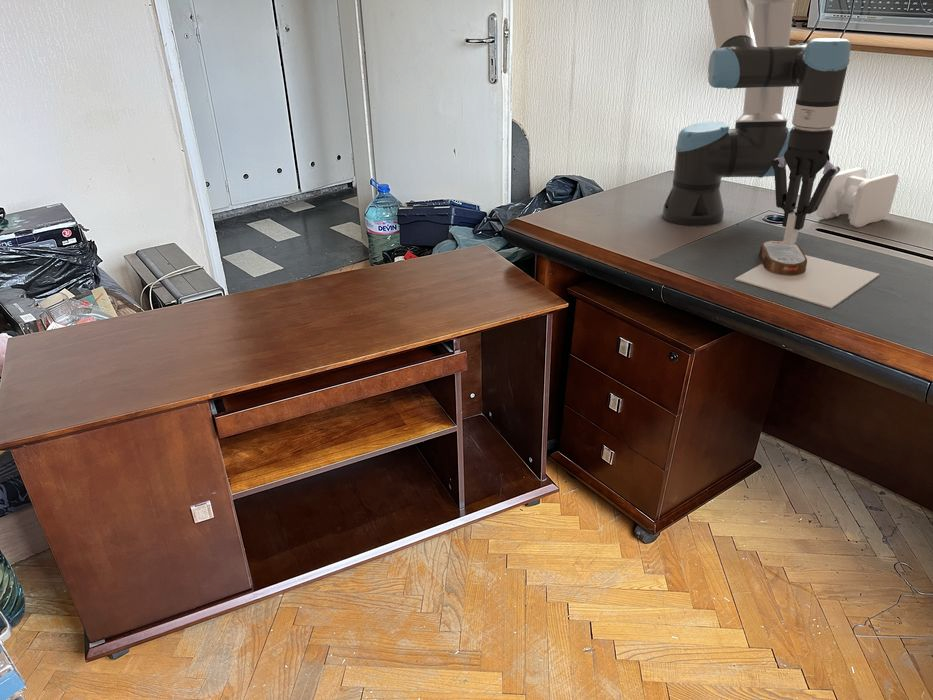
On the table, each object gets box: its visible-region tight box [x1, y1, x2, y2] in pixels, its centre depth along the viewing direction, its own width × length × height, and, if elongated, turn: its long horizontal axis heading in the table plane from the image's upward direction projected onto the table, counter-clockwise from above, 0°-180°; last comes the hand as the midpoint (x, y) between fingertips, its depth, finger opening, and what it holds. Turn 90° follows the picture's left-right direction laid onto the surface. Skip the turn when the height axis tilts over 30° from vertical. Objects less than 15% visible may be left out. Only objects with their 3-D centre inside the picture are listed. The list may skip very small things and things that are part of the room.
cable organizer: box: [816, 167, 900, 229], centre depth 170 cm, size 15×11×12 cm
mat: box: [734, 254, 880, 309], centre depth 143 cm, size 20×22×1 cm
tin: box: [758, 239, 807, 276], centre depth 149 cm, size 15×3×8 cm
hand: (789, 242), depth 143 cm, fingers closed
